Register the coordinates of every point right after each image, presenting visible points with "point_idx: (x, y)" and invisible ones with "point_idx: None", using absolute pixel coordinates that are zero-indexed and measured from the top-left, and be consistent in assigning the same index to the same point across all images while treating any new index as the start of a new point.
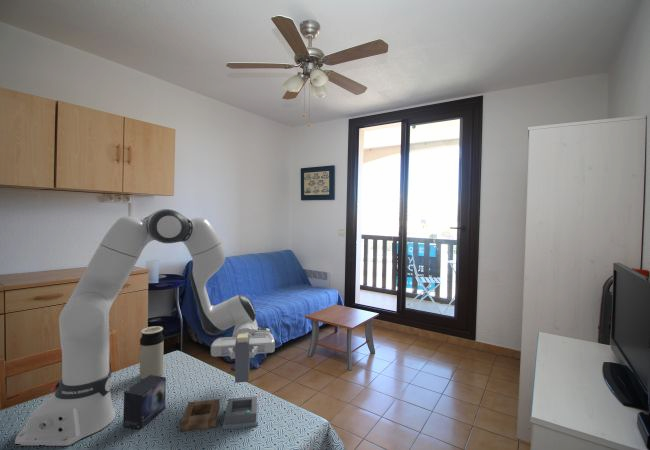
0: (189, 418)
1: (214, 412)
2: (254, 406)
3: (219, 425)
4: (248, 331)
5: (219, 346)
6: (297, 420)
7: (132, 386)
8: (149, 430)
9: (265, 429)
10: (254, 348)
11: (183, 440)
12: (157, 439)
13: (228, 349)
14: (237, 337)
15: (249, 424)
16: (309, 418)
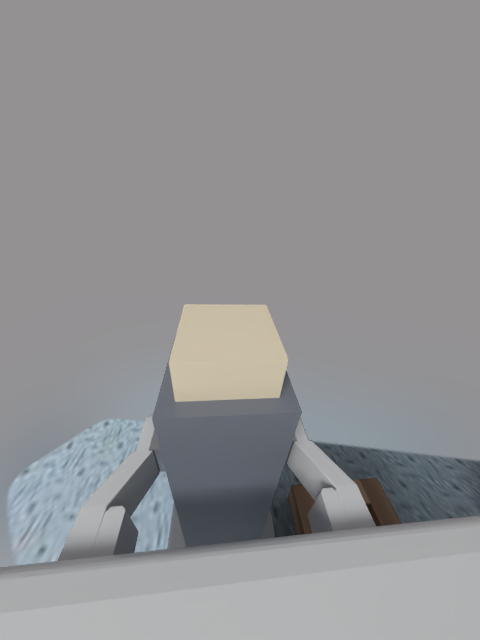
0: (362, 488)
1: (306, 515)
2: (178, 527)
3: (279, 507)
4: None
5: (471, 518)
6: (59, 506)
7: None
8: (452, 506)
9: (160, 473)
10: (122, 478)
11: (337, 455)
12: (397, 465)
13: (350, 480)
14: (266, 309)
15: None
16: (17, 513)
